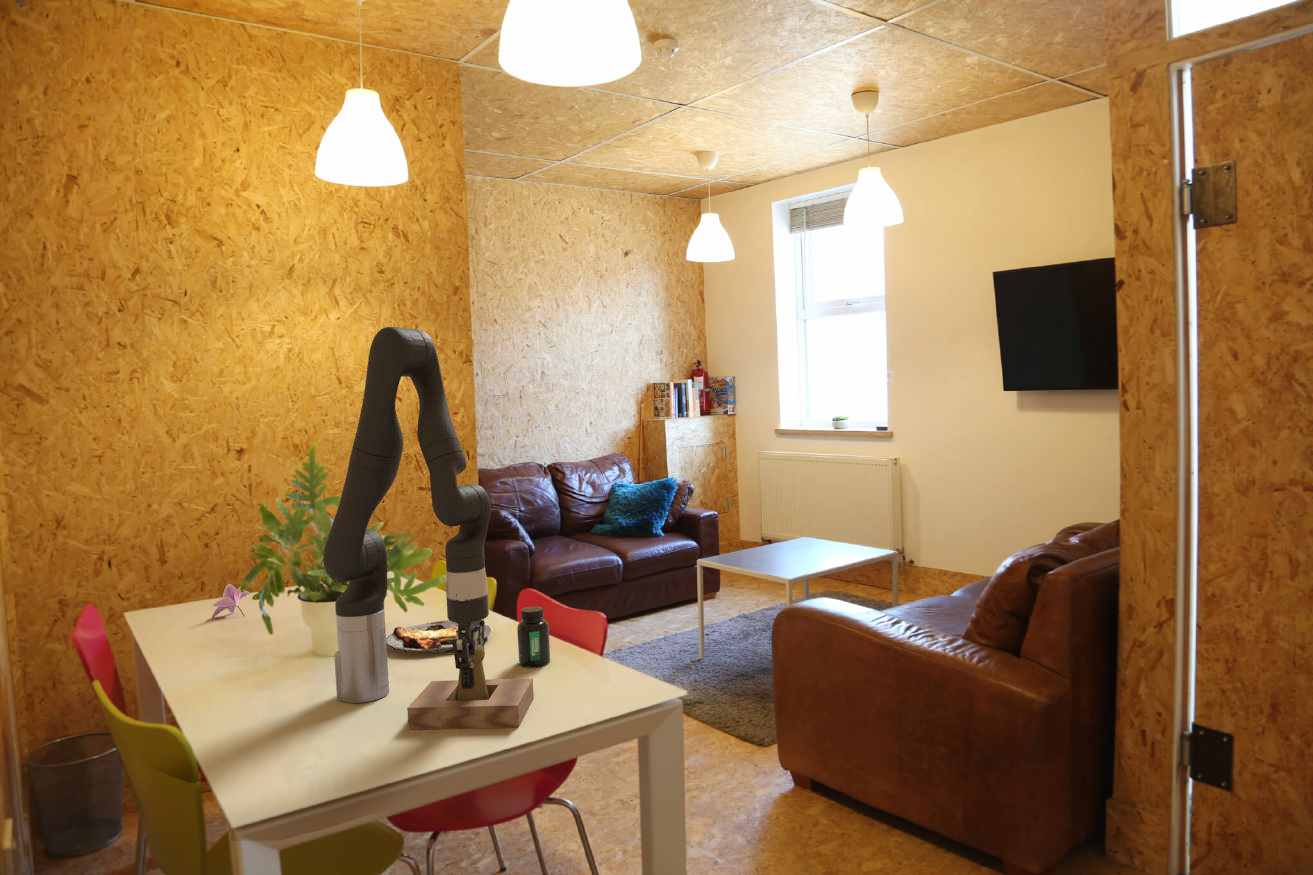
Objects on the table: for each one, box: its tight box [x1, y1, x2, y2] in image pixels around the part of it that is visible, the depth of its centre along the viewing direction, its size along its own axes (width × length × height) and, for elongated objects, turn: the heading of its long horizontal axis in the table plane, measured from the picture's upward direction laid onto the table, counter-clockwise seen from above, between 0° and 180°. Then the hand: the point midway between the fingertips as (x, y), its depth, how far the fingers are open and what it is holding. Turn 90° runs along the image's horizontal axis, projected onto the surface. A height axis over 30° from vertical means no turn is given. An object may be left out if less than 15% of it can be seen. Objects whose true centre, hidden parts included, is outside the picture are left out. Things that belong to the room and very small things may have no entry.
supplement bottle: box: [516, 606, 551, 668], centre depth 188 cm, size 7×7×12 cm
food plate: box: [386, 619, 492, 654], centre depth 207 cm, size 25×23×4 cm
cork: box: [457, 644, 489, 701], centre depth 159 cm, size 6×6×11 cm
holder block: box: [407, 678, 535, 731], centre depth 159 cm, size 20×14×4 cm
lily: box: [211, 583, 251, 619], centre depth 241 cm, size 12×12×10 cm
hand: (471, 682), depth 159 cm, fingers closed on cork, 4 cm apart
